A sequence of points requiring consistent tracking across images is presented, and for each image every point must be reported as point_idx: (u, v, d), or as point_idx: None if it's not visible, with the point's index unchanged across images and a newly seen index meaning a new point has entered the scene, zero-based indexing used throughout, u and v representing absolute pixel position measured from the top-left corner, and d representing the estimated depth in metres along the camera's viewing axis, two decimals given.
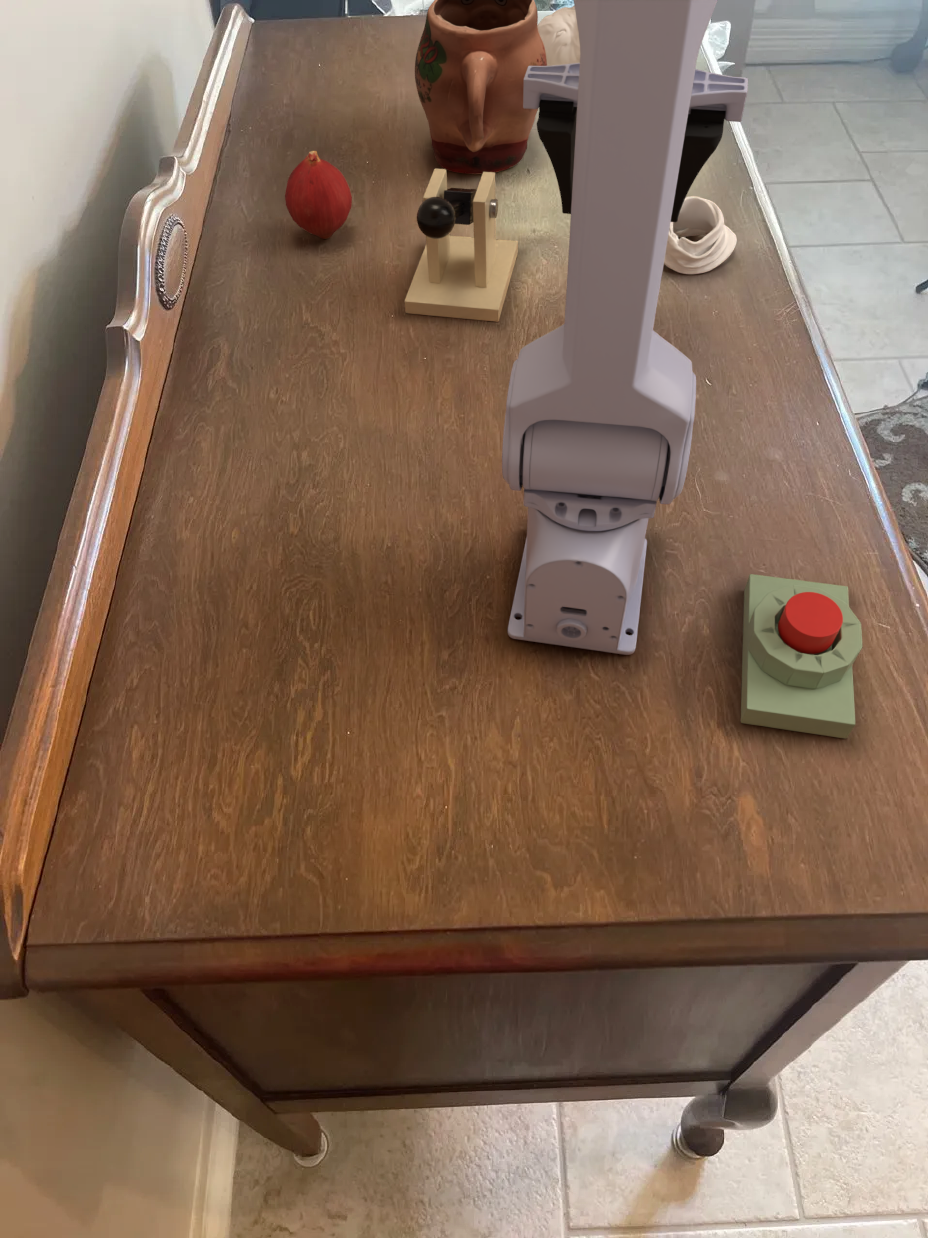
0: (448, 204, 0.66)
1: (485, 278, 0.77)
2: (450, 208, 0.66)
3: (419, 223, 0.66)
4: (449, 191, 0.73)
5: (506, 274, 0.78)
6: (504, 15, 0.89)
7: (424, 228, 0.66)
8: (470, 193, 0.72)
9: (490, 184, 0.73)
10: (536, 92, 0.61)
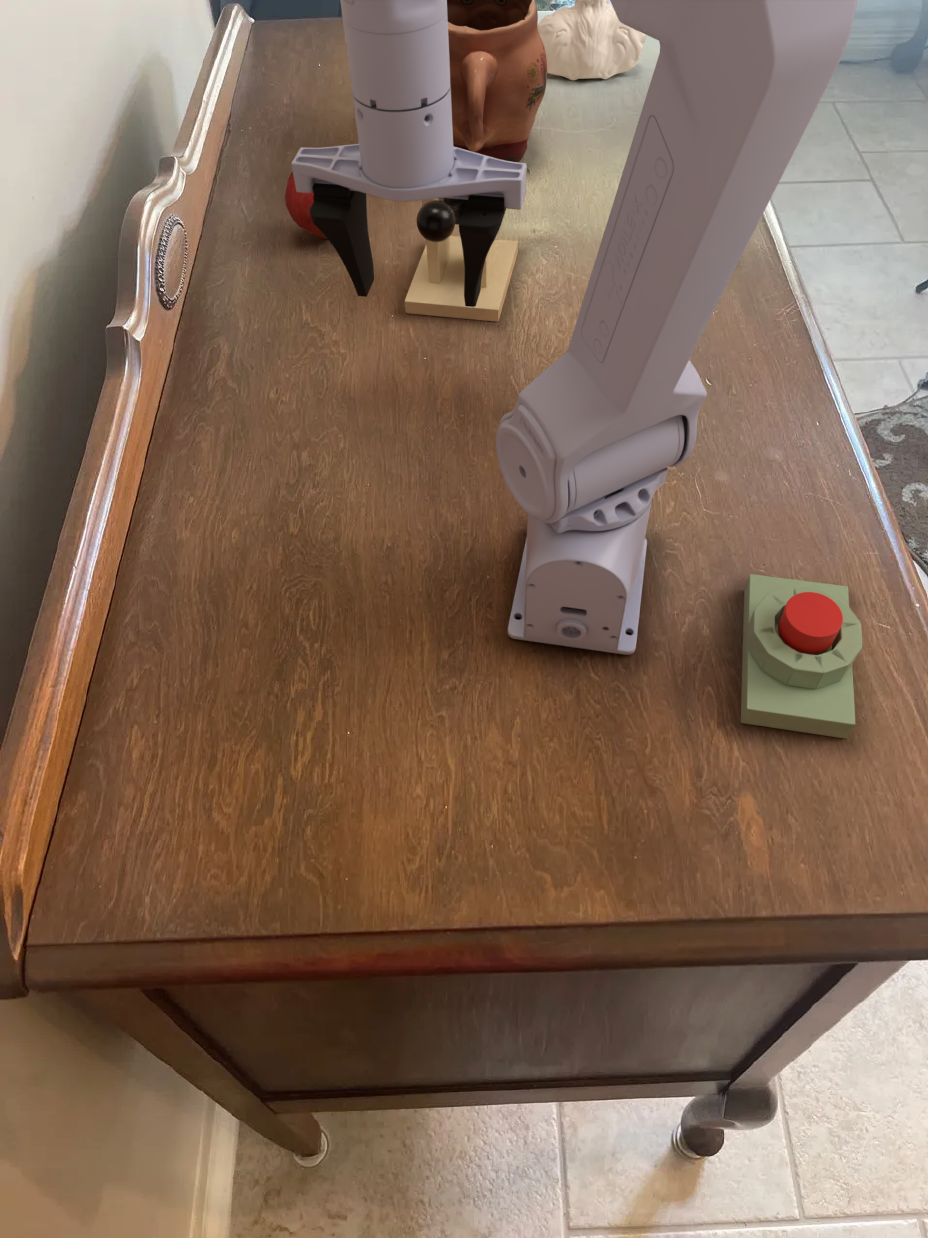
0: (448, 208, 0.66)
1: (485, 278, 0.77)
2: (450, 212, 0.66)
3: (419, 227, 0.66)
4: None
5: (506, 274, 0.78)
6: (504, 15, 0.89)
7: (424, 232, 0.66)
8: None
9: None
10: (306, 176, 0.57)
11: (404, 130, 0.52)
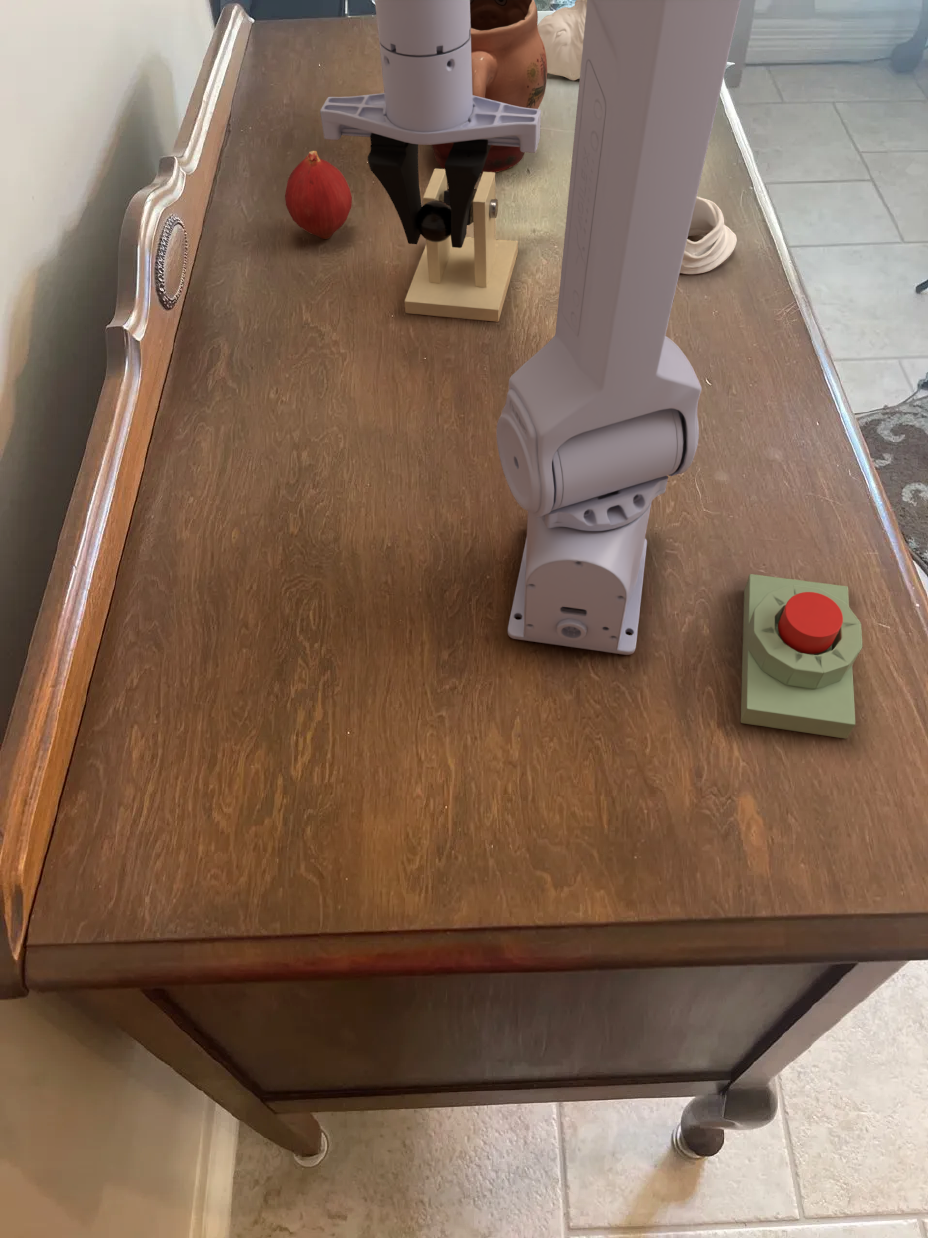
0: (448, 208, 0.66)
1: (485, 278, 0.77)
2: (450, 212, 0.66)
3: (419, 227, 0.66)
4: None
5: (506, 274, 0.78)
6: (504, 15, 0.89)
7: (424, 232, 0.66)
8: None
9: (490, 184, 0.73)
10: (334, 123, 0.61)
11: (428, 74, 0.56)
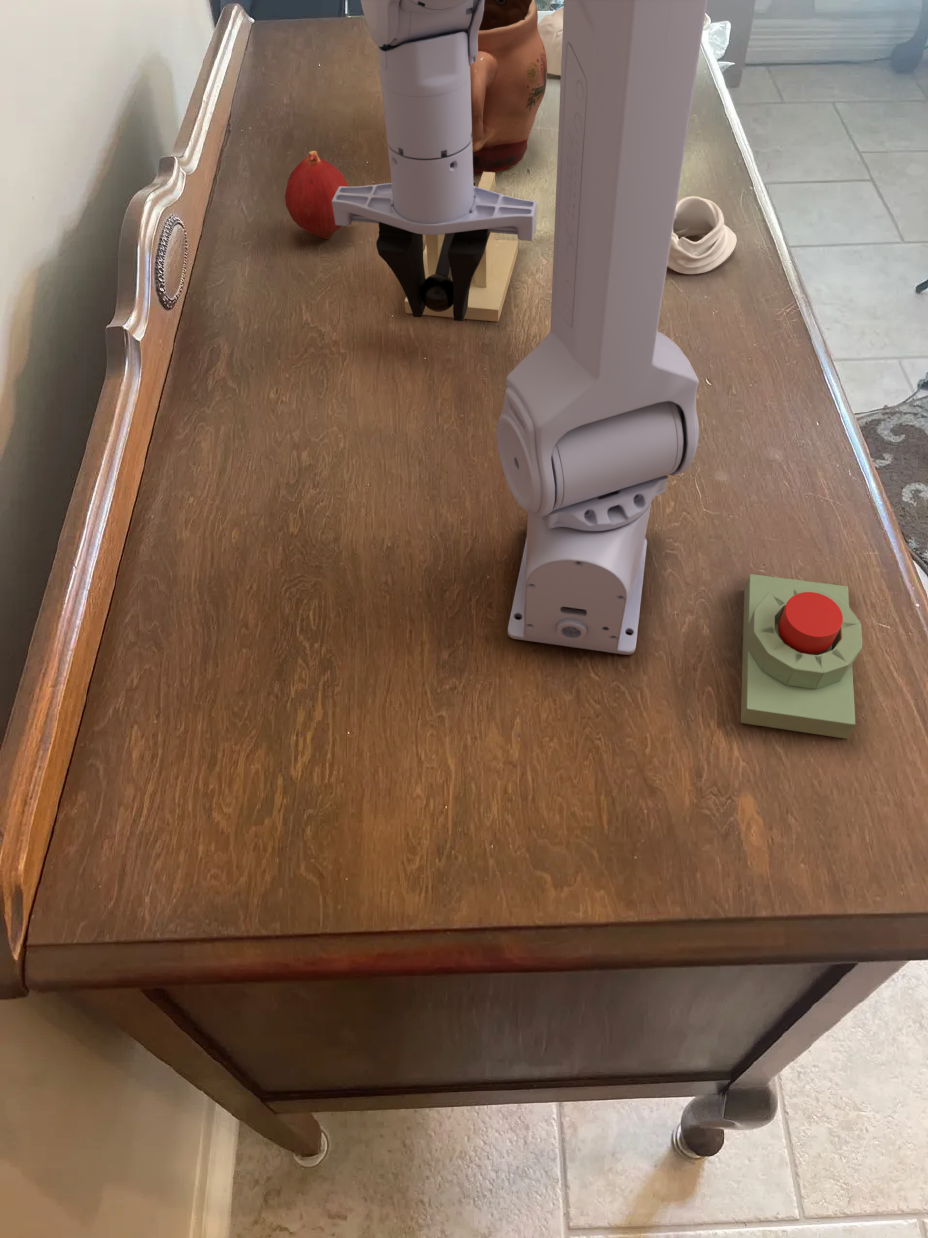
0: (448, 287, 0.70)
1: (485, 278, 0.77)
2: (451, 291, 0.70)
3: (424, 303, 0.71)
4: None
5: (506, 274, 0.78)
6: (504, 15, 0.89)
7: (429, 308, 0.71)
8: None
9: (490, 184, 0.73)
10: (344, 212, 0.66)
11: (432, 175, 0.61)
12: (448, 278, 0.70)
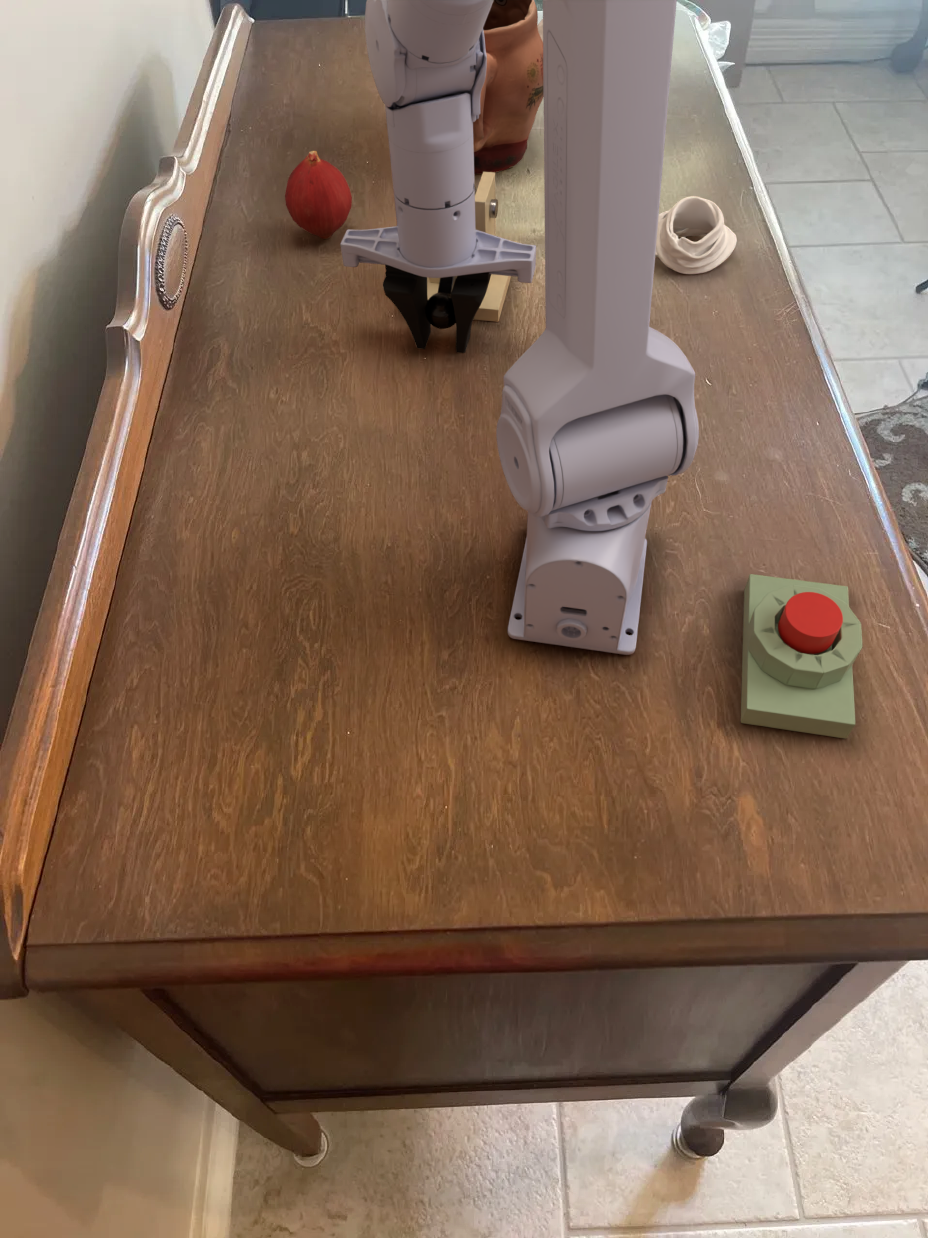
0: (451, 309, 0.72)
1: None
2: None
3: (429, 321, 0.74)
4: None
5: None
6: (504, 15, 0.89)
7: None
8: None
9: (490, 184, 0.73)
10: (352, 254, 0.69)
11: (437, 223, 0.64)
12: (451, 299, 0.72)
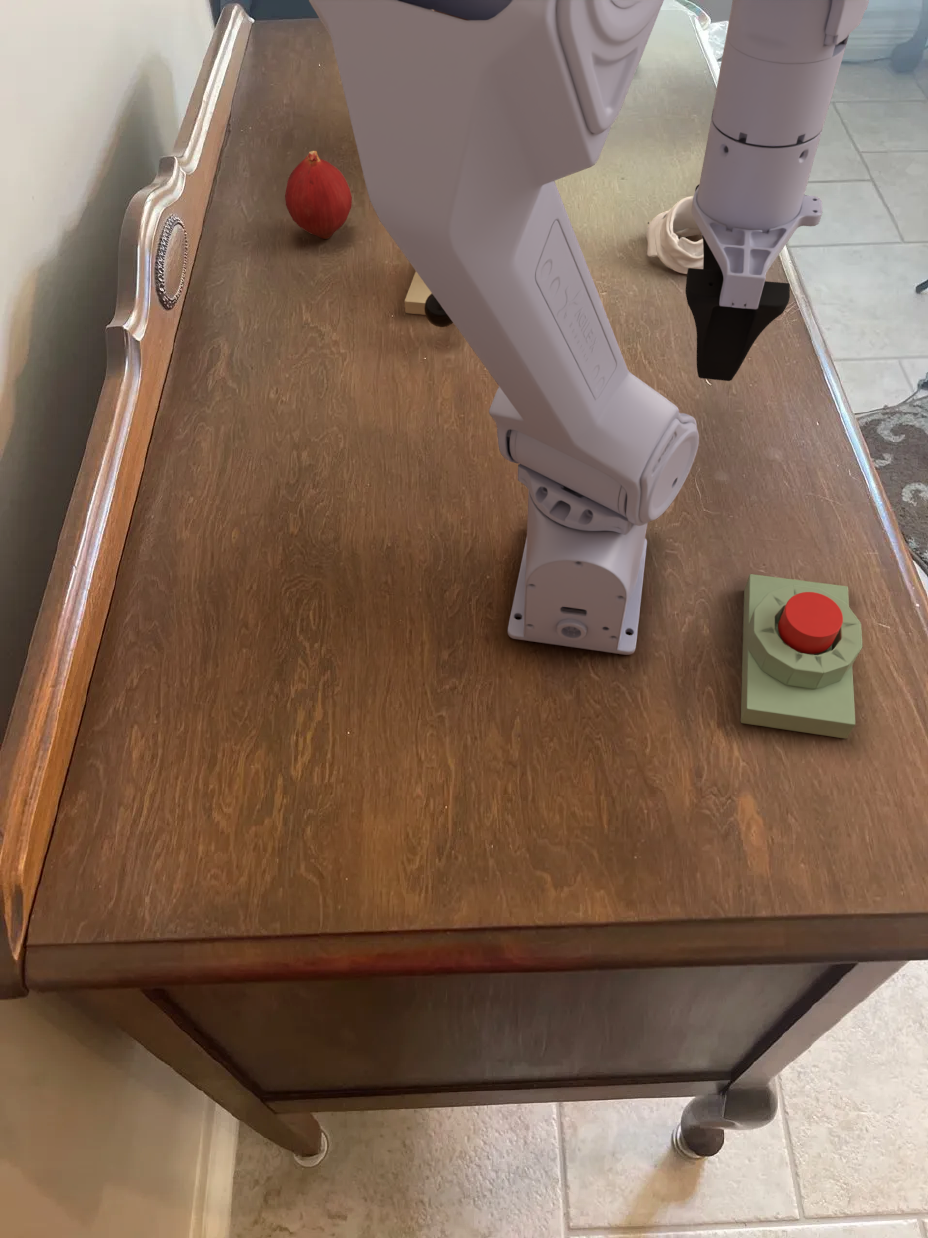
0: None
1: None
2: None
3: (428, 319, 0.73)
4: None
5: None
6: None
7: (433, 324, 0.73)
8: None
9: None
10: None
11: (710, 143, 0.49)
12: None
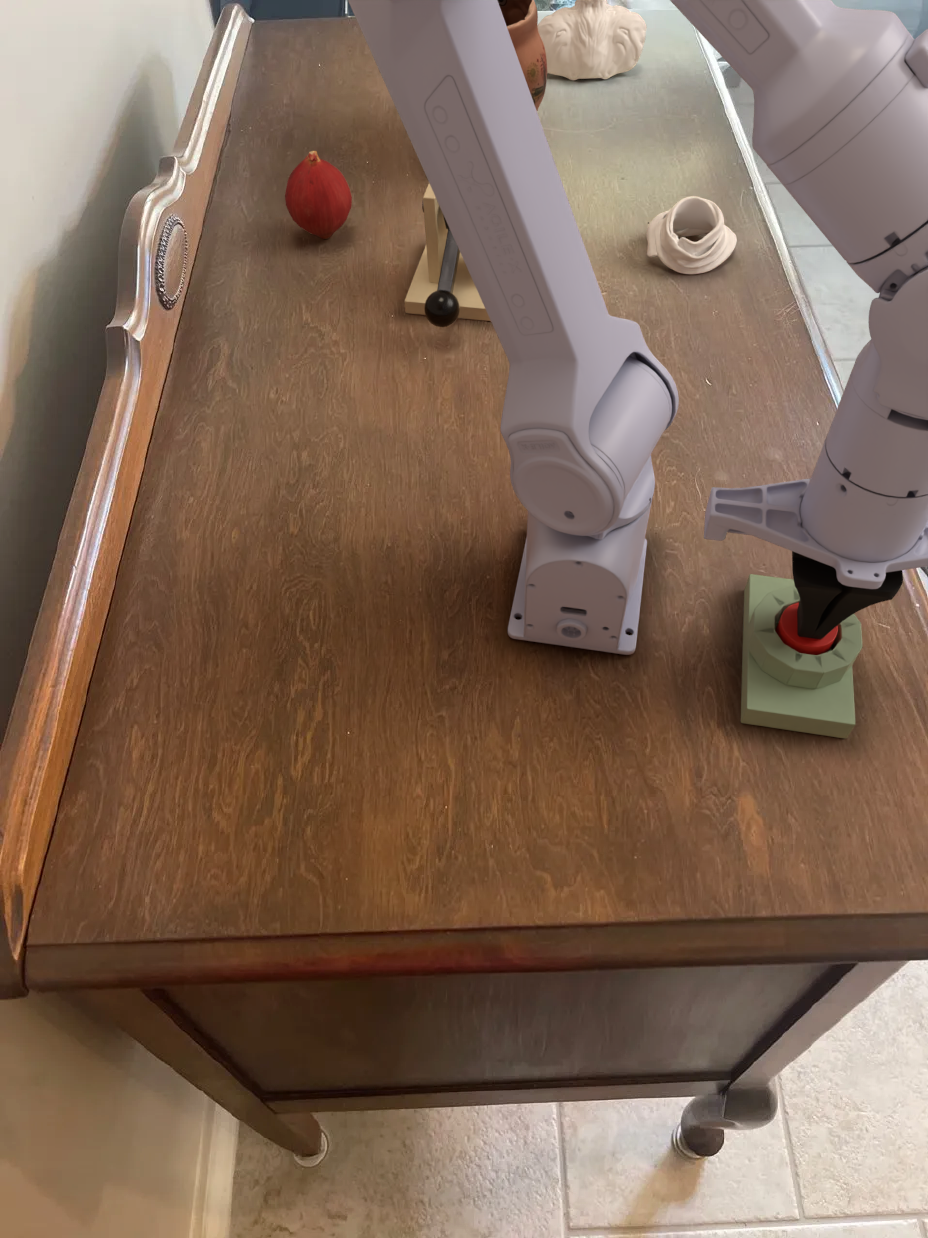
0: (451, 306, 0.72)
1: None
2: (453, 309, 0.72)
3: (428, 319, 0.73)
4: None
5: None
6: (504, 15, 0.89)
7: (433, 324, 0.73)
8: None
9: None
10: None
11: None
12: (450, 296, 0.72)
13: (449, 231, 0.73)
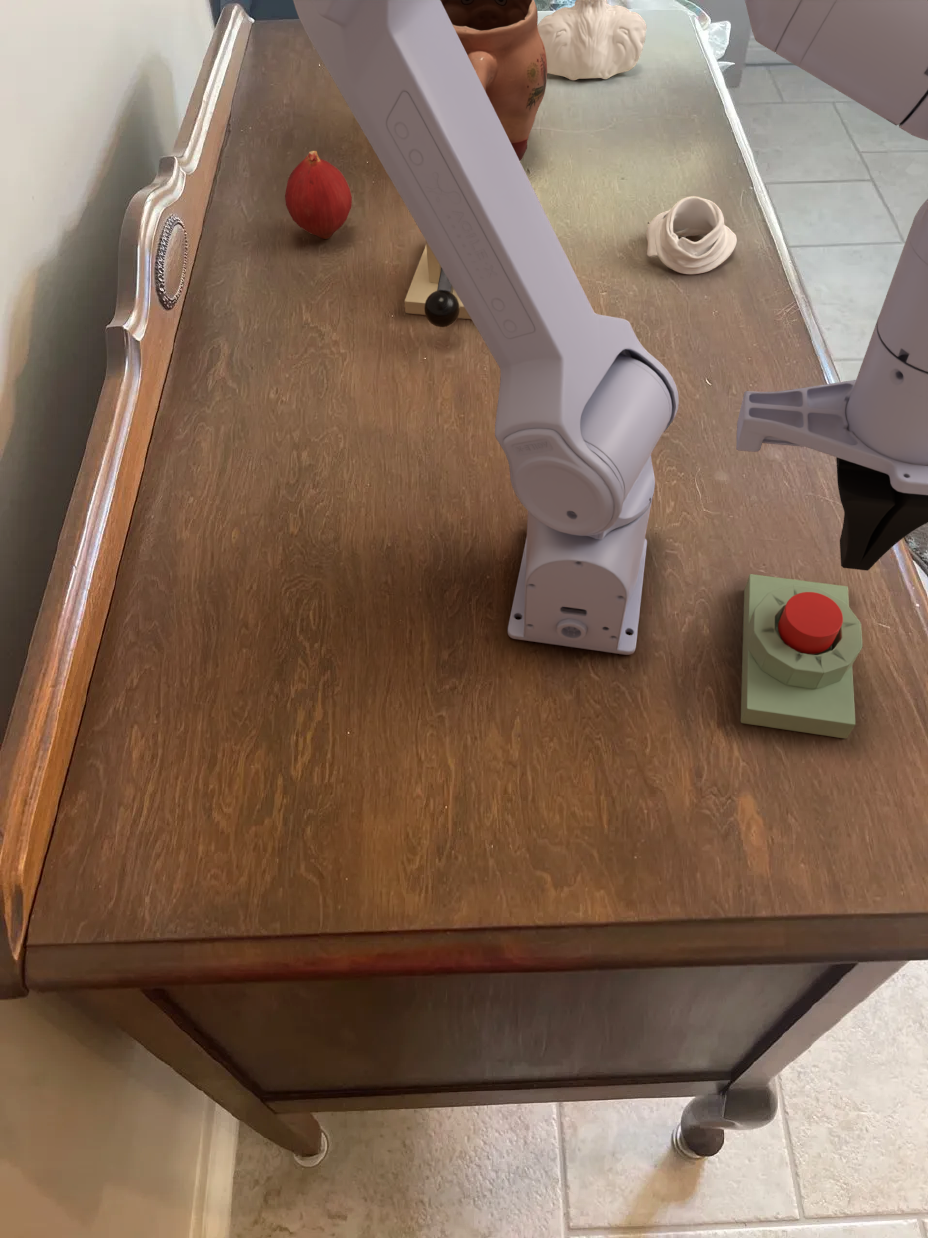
0: (451, 306, 0.72)
1: None
2: (453, 309, 0.72)
3: (428, 319, 0.73)
4: None
5: None
6: (504, 15, 0.89)
7: (433, 324, 0.73)
8: None
9: None
10: None
11: None
12: (450, 296, 0.72)
13: None
